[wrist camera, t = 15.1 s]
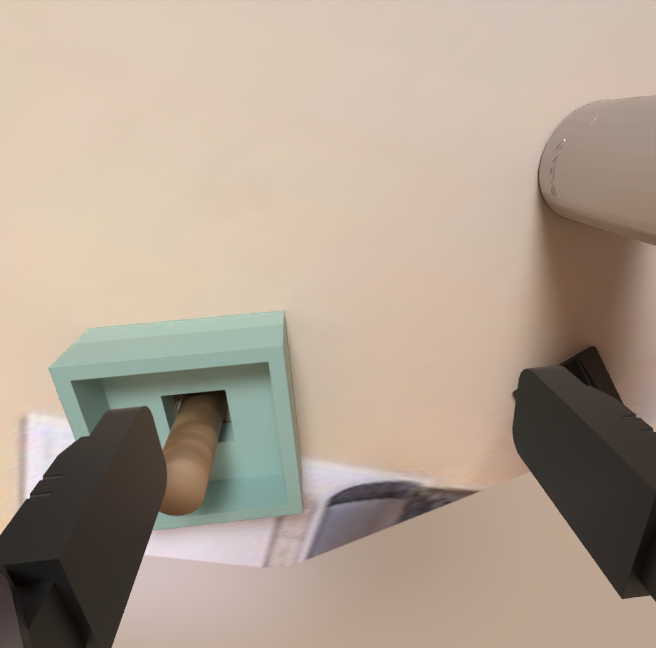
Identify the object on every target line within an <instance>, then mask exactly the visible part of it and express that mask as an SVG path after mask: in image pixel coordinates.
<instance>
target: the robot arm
mask: <svg viewBox="0 0 656 648" xmlns="http://www.w3.org/2000/svg"><path fill="white" fill-rule="evenodd" d="M539 182H540V188H541V192H542V195H543V197H544V199H545V201H546V203H547V204H548V205H549V207H550V208H551V209H552V210H553V211H554V212H556V213H557V214H558V215H560V216H562V217H565V218H567V219H570V220H573V221H577V222H580V223H583V224H587V225H590V226H593V227H596V228H599V229H602V230H606V231H609V232H612V233H615V234H619V235H622V236H625V237H629V238H632V239H635V240H639V241H642V242H645V243H649V244H652V245H655V246H656V95H653V96H642V97H633V98H624V99H614V100H605V101H598V102H595V103H592V104H588V105H586V106H584V107H582V108H580V109H578V110H577V111H575V112H574V113H572V114H571V115H570V116H569V117H567V118H566V119H565V120H564V121H563V122H562V123H561V124H560V125H559V127H558V128H557V129H556V130H555V131H554V133H553V135H552V136H551V138H550V139H549V141H548V143H547V145H546V147H545V150H544V152H543V155H542V159H541V163H540V168H539ZM513 439H514V443H515V447H516V449H517V452H518V454H519V455H520V457H521V458H522V460H523V461H524V463H525V464H526V465H527V467H528V468H529V470H530V471H531V472H532V474H533V475H534V477H535V478H536V479H537V481H538V482H539V484H540V485H541V486H542V488H543V489H544V491H545V492H546V493H547V495H548V496H549V498H550V499H551V500H552V502H553V503H554V504H555V506H556V507H557V509H558V510H559V512H560V513H561V514H562V516H563V517H564V519H565V520H566V521H567V523H568V524H569V526H570V527H571V528H572V530H573V531H574V532H575V534H576V535H577V537H578V538H579V539H580V541H581V542H582V544H583V545H584V547H585V548H586V549H587V550H588V552H589V553H590V555H591V556H592V558H593V559H594V560H595V562H596V563H597V564H598V566H599V567H600V569H601V570H602V572H603V573H604V575H605V576H606V577H607V578H608V580H609V582H610V583H611V584H612V586H613V587H614V589H615V590H616V591H617V593H618V594H619V596H621V598H622V599H626V598H632V597H641V596H649V595H651V596H652V597H653V599H654V600H655V601H656V432H653V428H652V427H650V426H649V425H648V424H647V423H646V422H644V421H643V420H642V419H641V418H636V414H635V413H633V412H632V411H631V410H630V409H628V408H627V407H626V406H625V405H623V404H622V403H621V402H620V401H618V400H617V399H616V398H614V397H612V396H610V395H608V394H606V393H604V392H602V391H599V390H597V389H595V388H593V387H591V386H586V385H585V384H584V383H582V382H581V381H580V380H579V379H578V378H577V377H575V376H574V375H573V374H572V373H571V372H570V371H568V370H567V369H566V368H565V367H563V366H549V367H539V368H529V369H524V370H523V371H522V372H521V374H520V377H519V382H518V390H517V397H516V405H515V412H514V420H513ZM166 486H167V466H166V461H165V458H164V454H163V451H162V447H161V443H160V440H159V436H158V433H157V429H156V426H155V422H154V418H153V415H152V412H151V410H150V409H149V408H148V407H147V406H139V407H129V408H119V409H109V410H107V411H106V412H105V413H104V414H103V416H102V417H101V419H100V420H99V422H98V423H97V425H96V426H95V428H94V429H93V431H92V432H91V434H90V436H84V437H80V438H79V439H78V440H77V441H75V442H74V443H73V444H72V445H70V446H69V447H68V448H67V449H65V450H64V451H63V452H62V453H60V454H59V455H58V456H57V457H56V459H55V460H54V462H53V463H52V464H51V466H50V467H49V469H48V470H47V471H46V473H45V474H44V475H43V480H40V481H39V482H38V484H37V485H36V487H35V488H34V489H33V491H32V492H31V493H30V499H26V500H25V502H24V503H23V505H22V506H21V507H20V509H19V510H18V511H17V513H16V514H15V516H14V517H13V518H12V520H11V521H10V522H9V524H8V525H7V527H6V528H5V529H4V531H3V532H2V534H1V535H0V648H111V647H112V644H113V642H114V638H115V636H116V633H117V630H118V627H119V624H120V622H121V618H122V615H123V613H124V610H125V607H126V604H127V601H128V599H129V596H130V593H131V590H132V587H133V584H134V581H135V578H136V576H137V572H138V570H139V567H140V564H141V561H142V558H143V555H144V553H145V550H146V547H147V544H148V541H149V538H150V535H151V532H152V530H153V527H154V524H155V521H156V518H157V515H158V512H159V510H160V507H161V504H162V501H163V498H164V495H165V492H166Z"/></svg>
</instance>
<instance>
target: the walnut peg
mask: <svg viewBox="0 0 656 648" xmlns="http://www.w3.org/2000/svg"><path fill="white" fill-rule="evenodd" d="M226 406H227V396H226V394H225V392H224V391H223V390H217V391H206V392H196V393H186V394H185V397H184V399H183V401H182V404H181V406H180V409H179V411H178V414H177V416H176V418H175V421H174V423H173V426H172V428H171V431H170V433H169V436H168V438H167V440H166V443H165V445H164V448H163V450H162V451H163V454H164V458H165V461H166V466H167V486H166V492H165V495H164V498H163V501H162V504H161V507H160V510H159V512H161V513H163V514H166V515H171V516H183V515H187V514H190V513H192V512H194V511H196V510H197V509H198V508H199V507H200V506H201V505H202V503H203V501H204V497H205V493H206V489H207V485H208V481H209V476H210V472H211V468H212V464H213V460H214V456H215V451H216V447H217V443H218V439H219V435H220V431H221V427H222V422H223V418H224V414H225V410H226Z"/></svg>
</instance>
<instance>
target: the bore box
mask: <svg viewBox="0 0 656 648" xmlns="http://www.w3.org/2000/svg"><path fill="white" fill-rule="evenodd" d="M48 369H49V372H50V374H51V377H52V380H53V382H54V385H55V387H56V390H57V393H58V395H59V398H60V401H61V403H62V406H63V409H64V411H65V414H66V417H67V419H68V422H69V424H70V427H71V430H72V432H73V435H74V438H75V440H76V441H77V440H78V439H79V438H80V437H84V436H90V434H91V432H92V431H93V429H94V428H95V426H96V425H97V423H98V422H99V420H100V419H101V417H102V416H103V414H104V413H105V412H106V411H107V410H109V409H119V408H129V407H139V406H147V407H148V408H149V409H150V410H151V412H152V415H153V418H154V422H155V426H156V429H157V433H158V436H159V440H160V443H161V447H162V450H163V448H164V445H165V443H166V440H167V438H168V436H169V433H170V431H171V428H172V426H173V423H174V421H175V418H176V416H177V414H178V411H177V407H176V403H175V399H174V395H176V394H186V393H196V392H206V391H217V390H225V391H226V396H227V401H228V406H229V412H230V417H231V422H226V423H222V427H221V431H220V435H219V439H218V443H217V447H216V451H215V456H214V460H213V464H212V468H211V472H210V476H209V481H208V485H207V489H206V493H205V497H204V501H203V503H202V505H201V506H200V507H199V508H198V509H197V510H196V511H194V512H192V513H190V514H187V515H183V516H171V515H166V514H163V513H161V512H158V515H157V518H156V521H155V524H154V527H153V530H161V529H170V528H179V527H188V526H197V525H205V524H214V523H223V522H232V521H241V520H250V519H258V518H267V517H276V516H285V515H294V514H302V513H303V500H302V471H301V455H300V446H299V437H298V429H297V420H296V411H295V403H294V394H293V385H292V377H291V368H290V360H289V351H288V342H287V334H286V325H285V316H284V311H276V312H265V313H254V314H243V315H232V316H221V317H210V318H199V319H188V320H177V321H166V322H155V323H144V324H133V325H122V326H111V327H100V328H89V329H88V330H87V331H86V332H85V333H84V334H83V335H82V336H81V337H80V338H79V339H78V340H77V341H76V342H75V343H74V344H73V345H72V346H71V347H70V348H69V349H68V350H66V351H65V352H64V353H63V354H62V355H61V356H60V357H59V358H58V359H57V360H56V361H55V362H54V363H53V364H52V365H51V366H50V367H49V368H48Z"/></svg>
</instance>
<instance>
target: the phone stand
mask: <svg viewBox="0 0 656 648" xmlns="http://www.w3.org/2000/svg"><path fill="white" fill-rule="evenodd" d="M558 366H563V367H565V368H566V369H567V370H568V371H570V372H571V373H572V374H573V375H574V376H575V377H577V378H578V379H579V380H580V381H581V382H582V383H584V384H585V385H586V386H591V387H593V388H595V389H597V390H599V391H602V392H604V393H606V394H608V395H610V396H612V397H614V398H616V399H617V400H618V401H620V402H621V403H622V404H623V402H622V400H621V398H620V396H619V394H618V392H617V390H616V388H615V386H614V384H613V382H612V380H611V378H610V376H609V374H608V372H607V370H606V368H605V365H604V363H603V361H602V359H601V357H600V355H599V353H598V351H597V349H596V347H589V348H588V349H586V350H584V351H582V352H581V353H579V354H577V355H575V356H574V357H572V358H570V359H569V360H567V361H565V362H563V363H562V364H560V365H558ZM517 390H518V389H517ZM517 390H515V391H514V392H513V394H514V396H515V398H516V397H517ZM623 405H624V404H623Z"/></svg>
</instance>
